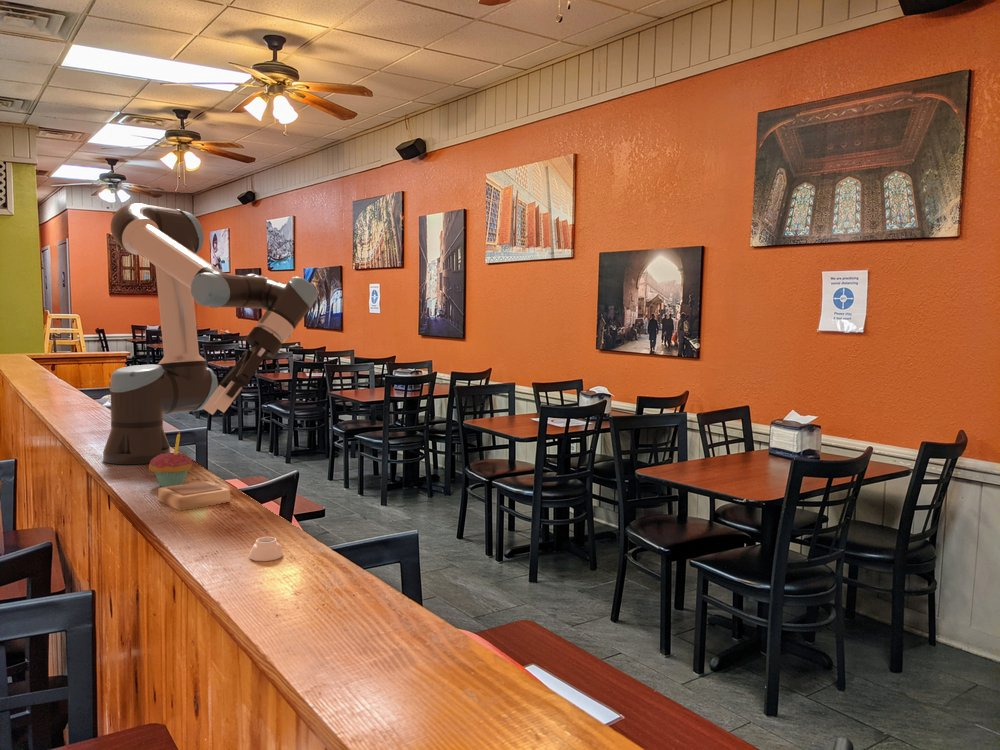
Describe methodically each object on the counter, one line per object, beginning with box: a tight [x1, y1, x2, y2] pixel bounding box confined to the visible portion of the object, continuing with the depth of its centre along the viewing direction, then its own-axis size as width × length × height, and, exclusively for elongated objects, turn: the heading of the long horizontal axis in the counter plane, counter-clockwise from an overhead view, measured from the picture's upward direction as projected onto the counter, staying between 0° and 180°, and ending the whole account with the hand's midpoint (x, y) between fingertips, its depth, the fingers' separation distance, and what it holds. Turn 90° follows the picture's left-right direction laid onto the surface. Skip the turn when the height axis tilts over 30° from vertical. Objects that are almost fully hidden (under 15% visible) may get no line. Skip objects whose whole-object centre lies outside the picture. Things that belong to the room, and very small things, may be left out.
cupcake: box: [148, 430, 194, 488], centre depth 156 cm, size 9×8×12 cm
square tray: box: [157, 480, 231, 512], centre depth 144 cm, size 10×10×3 cm
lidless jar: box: [248, 536, 284, 563], centre depth 113 cm, size 5×3×5 cm
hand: (212, 410), depth 160 cm, fingers open, 13 cm apart
